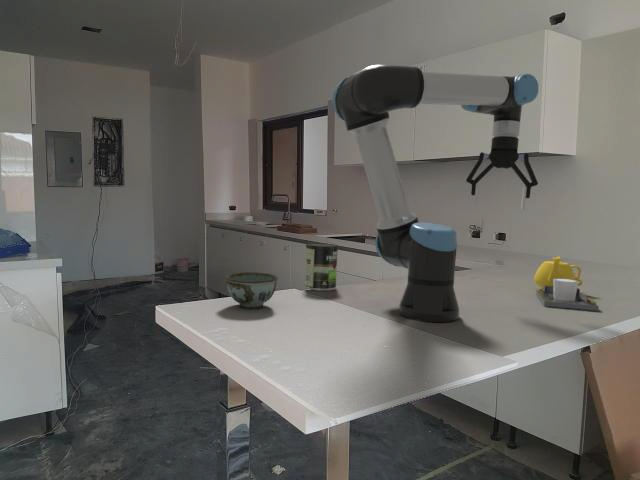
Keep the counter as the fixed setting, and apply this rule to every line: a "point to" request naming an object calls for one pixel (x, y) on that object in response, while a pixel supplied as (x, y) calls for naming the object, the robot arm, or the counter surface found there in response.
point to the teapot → (555, 272)
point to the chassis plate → (584, 304)
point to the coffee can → (321, 266)
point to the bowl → (251, 288)
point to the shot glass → (564, 289)
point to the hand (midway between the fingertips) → (498, 207)
